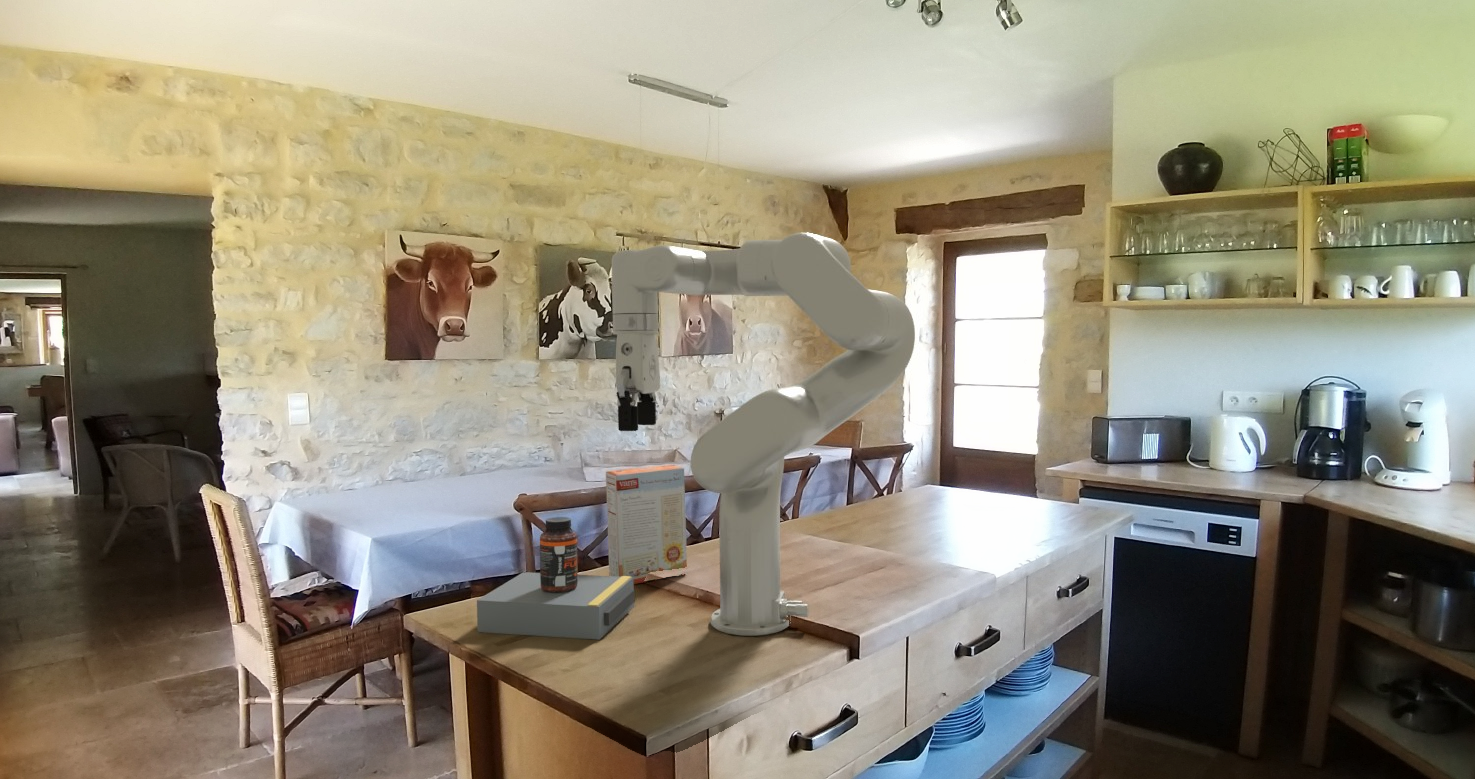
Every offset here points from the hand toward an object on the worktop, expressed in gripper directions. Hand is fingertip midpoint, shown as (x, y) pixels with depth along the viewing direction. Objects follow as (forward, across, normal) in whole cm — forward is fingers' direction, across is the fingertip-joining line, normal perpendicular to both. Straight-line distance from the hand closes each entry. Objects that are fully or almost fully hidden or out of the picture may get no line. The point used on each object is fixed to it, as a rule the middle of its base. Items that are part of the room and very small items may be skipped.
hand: (637, 427), depth 140 cm
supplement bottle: (+25, -9, +11) cm, 29 cm away
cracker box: (+31, +16, +4) cm, 35 cm away
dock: (+30, -9, +11) cm, 33 cm away
